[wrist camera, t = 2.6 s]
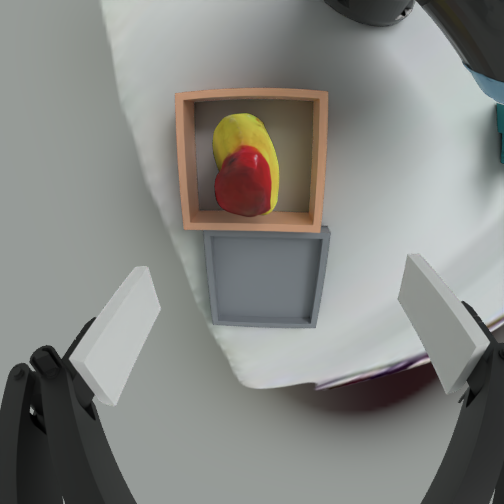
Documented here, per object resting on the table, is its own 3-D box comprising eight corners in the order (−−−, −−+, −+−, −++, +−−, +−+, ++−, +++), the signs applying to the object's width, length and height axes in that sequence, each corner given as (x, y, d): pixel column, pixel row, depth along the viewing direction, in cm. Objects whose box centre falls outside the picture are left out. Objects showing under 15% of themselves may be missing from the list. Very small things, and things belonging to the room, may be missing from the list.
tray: (206, 222, 41) (202, 229, 38) (327, 226, 39) (330, 232, 37) (215, 315, 49) (212, 324, 47) (314, 318, 48) (315, 328, 46)
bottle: (286, 190, 38) (299, 260, 20) (243, 201, 39) (217, 277, 21) (264, 108, 32) (255, 94, 15) (218, 121, 34) (162, 126, 16)
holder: (187, 96, 32) (175, 93, 28) (320, 95, 31) (328, 91, 26) (193, 216, 40) (183, 229, 36) (314, 219, 39) (320, 232, 35)
